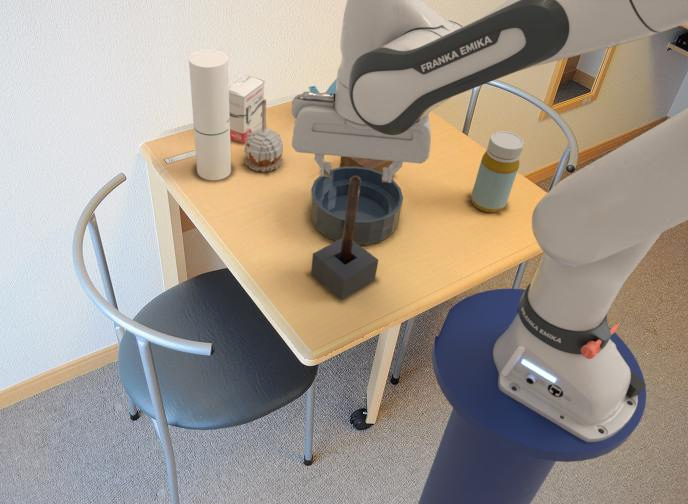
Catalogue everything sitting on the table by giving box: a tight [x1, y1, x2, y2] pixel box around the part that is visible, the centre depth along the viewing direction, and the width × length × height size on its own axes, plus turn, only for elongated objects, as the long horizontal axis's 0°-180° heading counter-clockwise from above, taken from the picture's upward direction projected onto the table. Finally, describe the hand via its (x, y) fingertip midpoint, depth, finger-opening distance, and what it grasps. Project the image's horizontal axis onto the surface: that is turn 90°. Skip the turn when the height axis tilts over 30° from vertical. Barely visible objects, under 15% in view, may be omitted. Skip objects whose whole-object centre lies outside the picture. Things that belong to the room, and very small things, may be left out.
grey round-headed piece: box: [244, 98, 284, 173], centre depth 135 cm, size 8×8×15 cm
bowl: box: [309, 166, 404, 245], centre depth 126 cm, size 17×17×6 cm
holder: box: [339, 156, 393, 173], centre depth 137 cm, size 8×8×5 cm
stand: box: [310, 238, 379, 301], centre depth 114 cm, size 8×8×5 cm
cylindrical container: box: [188, 48, 232, 181], centre depth 129 cm, size 7×7×25 cm
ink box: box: [229, 74, 265, 144], centre depth 145 cm, size 9×5×12 cm, turn 150°
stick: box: [340, 176, 361, 264], centre depth 108 cm, size 2×2×22 cm
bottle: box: [470, 130, 525, 214], centre depth 128 cm, size 7×7×15 cm
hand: (355, 177), depth 101 cm, fingers open, 8 cm apart
